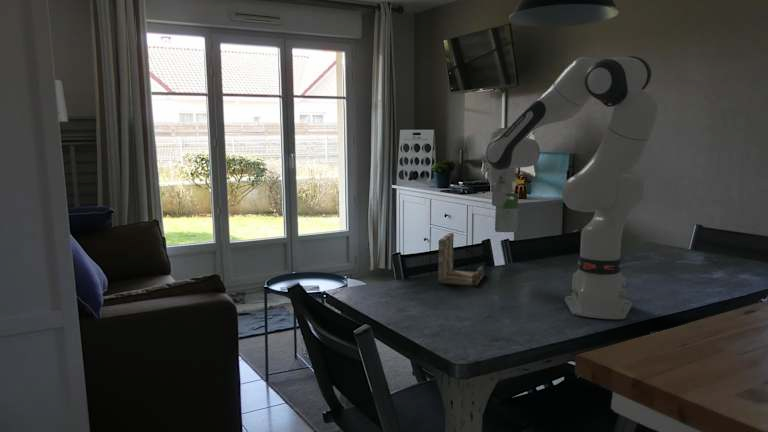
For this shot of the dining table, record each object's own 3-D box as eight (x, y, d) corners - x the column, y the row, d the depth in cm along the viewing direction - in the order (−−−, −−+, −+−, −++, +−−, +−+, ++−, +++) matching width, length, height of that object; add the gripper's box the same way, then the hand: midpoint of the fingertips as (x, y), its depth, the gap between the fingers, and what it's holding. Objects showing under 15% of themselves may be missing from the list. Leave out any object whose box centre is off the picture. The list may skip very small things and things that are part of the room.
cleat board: (476, 286, 191) (476, 242, 189) (438, 282, 196) (438, 240, 194) (484, 275, 206) (484, 234, 204) (448, 272, 210) (449, 233, 208)
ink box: (514, 230, 196) (515, 192, 194) (517, 232, 192) (518, 193, 190) (494, 230, 196) (495, 192, 194) (497, 232, 192) (498, 193, 190)
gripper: (507, 178, 181) (506, 221, 182) (515, 174, 200) (514, 213, 202) (487, 178, 183) (486, 220, 185) (497, 174, 202) (496, 212, 204)
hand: (501, 216), depth 193 cm, fingers closed on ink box, 5 cm apart
